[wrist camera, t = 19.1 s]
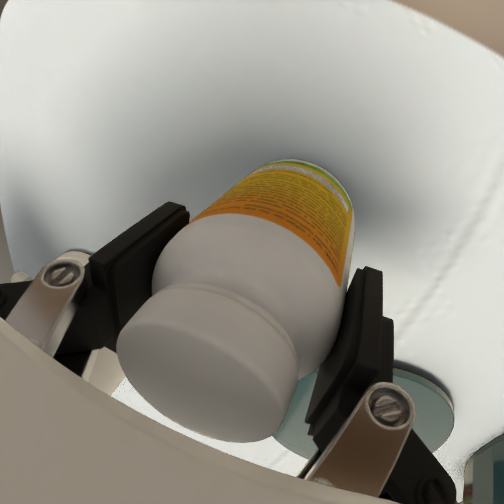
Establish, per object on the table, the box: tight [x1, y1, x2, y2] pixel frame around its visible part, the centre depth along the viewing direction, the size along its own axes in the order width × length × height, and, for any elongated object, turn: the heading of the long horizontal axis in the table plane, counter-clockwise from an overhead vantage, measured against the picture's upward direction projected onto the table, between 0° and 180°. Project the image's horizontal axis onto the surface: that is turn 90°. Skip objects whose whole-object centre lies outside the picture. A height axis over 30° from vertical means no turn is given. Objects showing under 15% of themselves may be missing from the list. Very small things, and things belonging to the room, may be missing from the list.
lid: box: [272, 367, 454, 459], centre depth 19 cm, size 15×15×6 cm
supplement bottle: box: [116, 159, 355, 443], centre depth 10 cm, size 5×5×10 cm
